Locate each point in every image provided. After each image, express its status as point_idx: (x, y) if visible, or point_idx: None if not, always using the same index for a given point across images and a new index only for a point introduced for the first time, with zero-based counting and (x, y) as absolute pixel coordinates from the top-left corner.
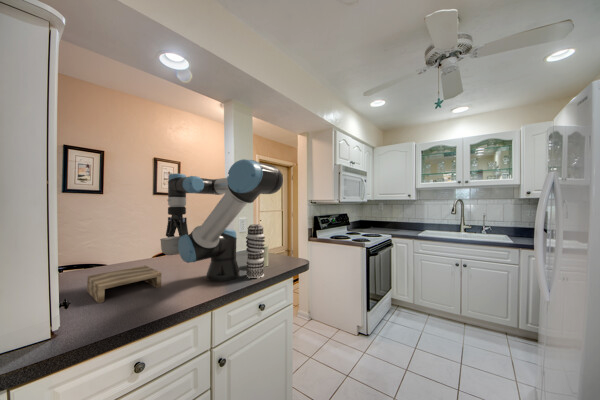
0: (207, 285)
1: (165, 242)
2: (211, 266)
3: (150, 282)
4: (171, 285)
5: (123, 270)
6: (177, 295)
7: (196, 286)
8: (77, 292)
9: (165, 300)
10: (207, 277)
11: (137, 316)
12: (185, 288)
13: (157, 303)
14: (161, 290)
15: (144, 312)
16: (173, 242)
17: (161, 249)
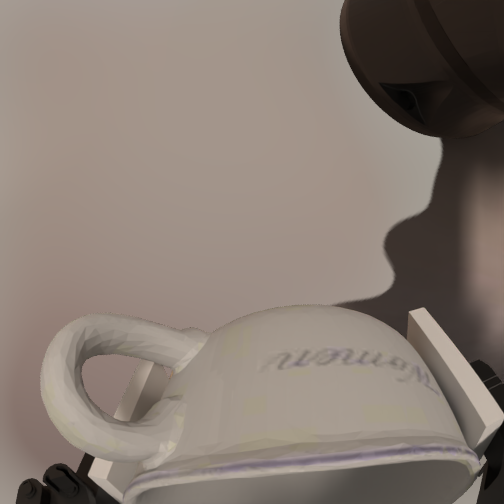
0: (488, 175)
1: None
2: (488, 121)
3: None
4: (380, 301)
5: None
6: (487, 298)
7: (470, 217)
8: None
9: (488, 331)
10: (437, 136)
11: (500, 377)
12: (458, 261)
13: (486, 348)
14: (406, 338)
15: (498, 368)
16: (425, 485)
17: (285, 479)
